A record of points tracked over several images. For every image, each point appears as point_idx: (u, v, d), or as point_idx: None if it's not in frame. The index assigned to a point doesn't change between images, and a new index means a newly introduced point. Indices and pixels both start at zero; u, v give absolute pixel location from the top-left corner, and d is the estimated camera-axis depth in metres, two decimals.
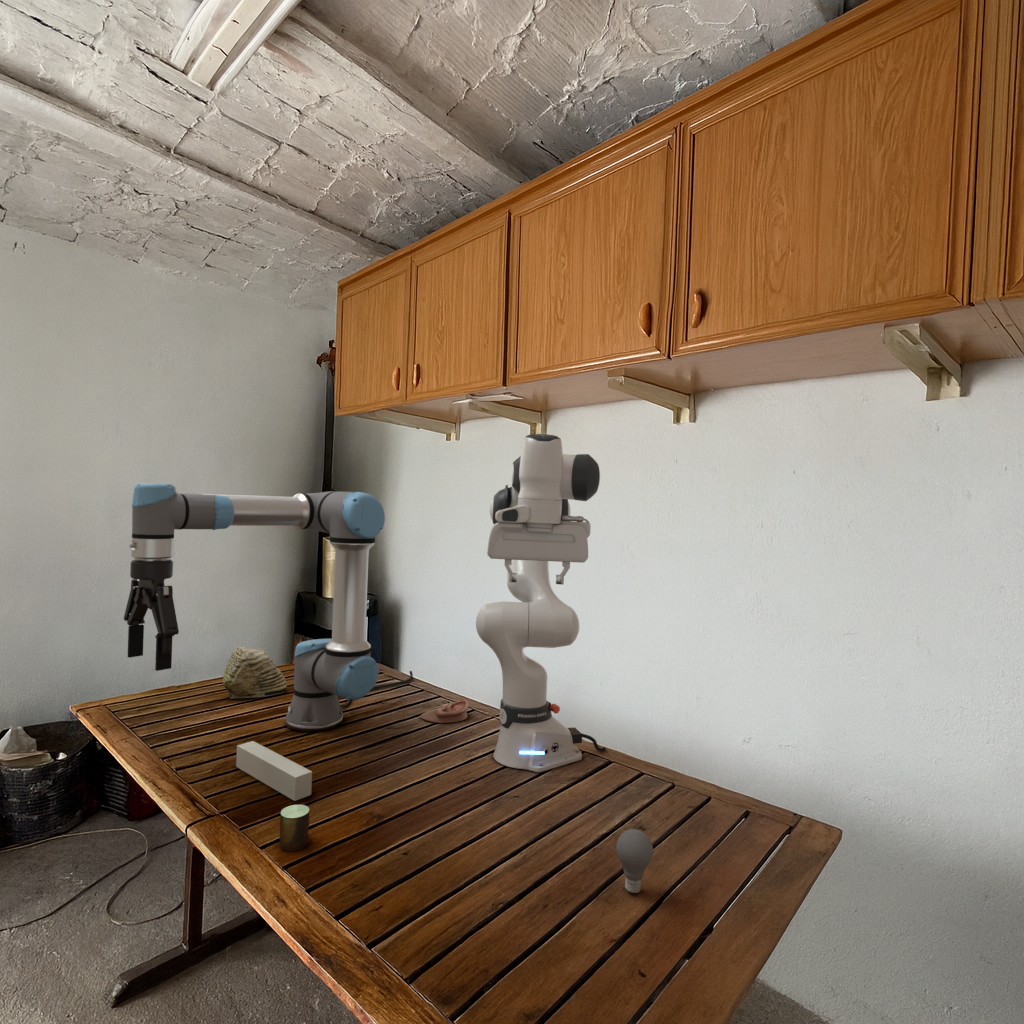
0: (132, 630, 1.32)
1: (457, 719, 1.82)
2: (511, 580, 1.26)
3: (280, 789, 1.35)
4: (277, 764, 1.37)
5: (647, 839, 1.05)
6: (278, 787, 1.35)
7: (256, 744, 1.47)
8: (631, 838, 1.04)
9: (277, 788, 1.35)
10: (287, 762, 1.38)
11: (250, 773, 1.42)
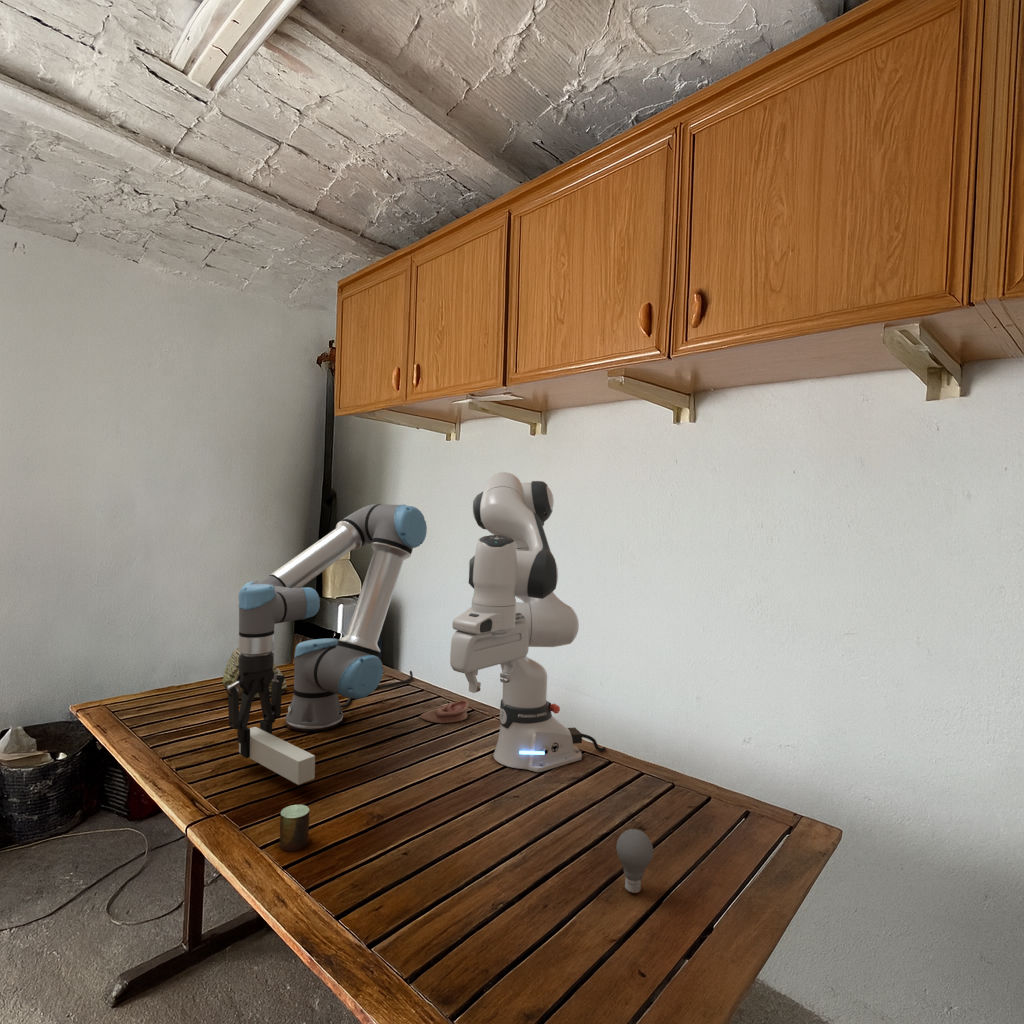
0: (261, 725, 1.48)
1: (457, 719, 1.82)
2: (476, 690, 1.22)
3: (283, 773, 1.35)
4: (280, 749, 1.37)
5: (647, 839, 1.05)
6: (281, 772, 1.36)
7: (258, 730, 1.48)
8: (631, 838, 1.04)
9: (281, 773, 1.36)
10: (290, 747, 1.39)
11: (253, 758, 1.43)
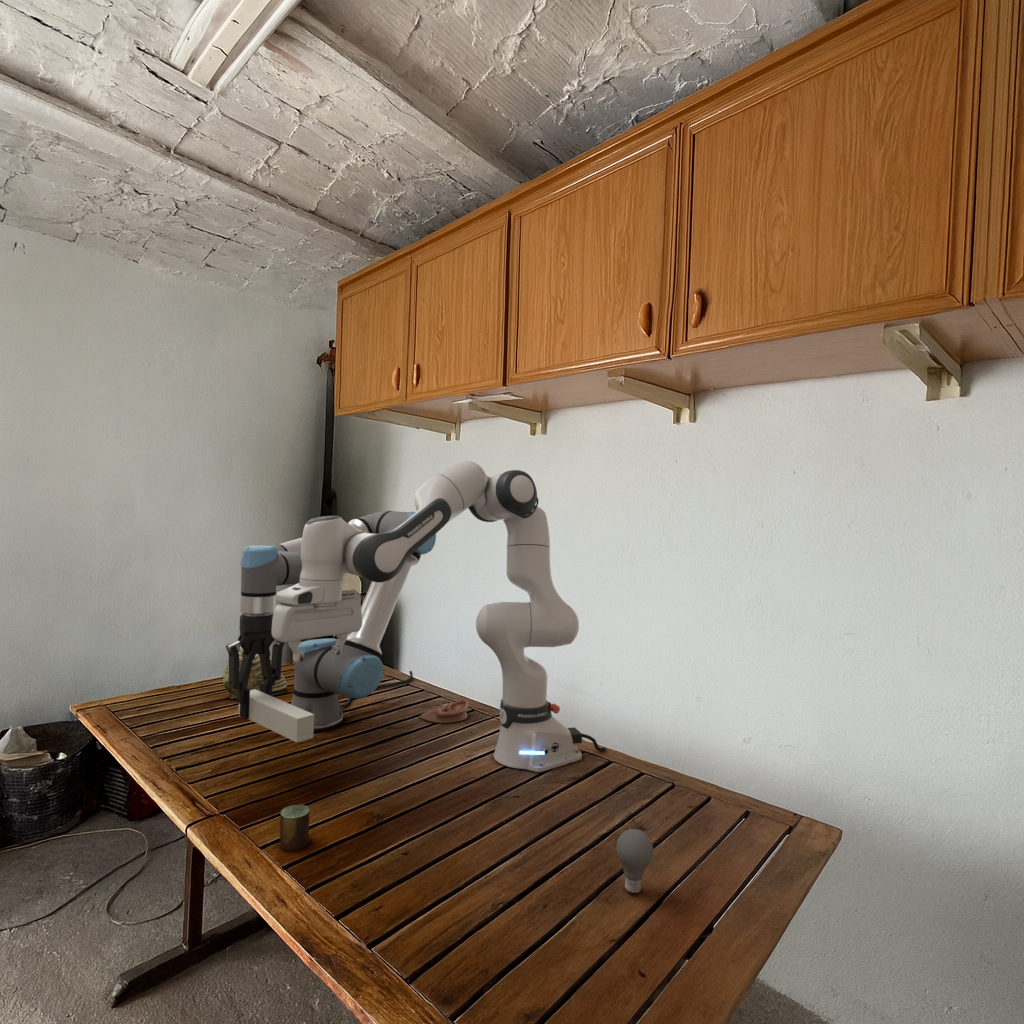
0: (261, 687, 1.47)
1: (457, 719, 1.82)
2: (299, 659, 1.30)
3: (282, 732, 1.34)
4: (279, 708, 1.37)
5: (647, 839, 1.05)
6: (280, 730, 1.35)
7: (258, 692, 1.47)
8: (631, 838, 1.04)
9: (279, 732, 1.35)
10: (289, 707, 1.38)
11: (252, 719, 1.42)
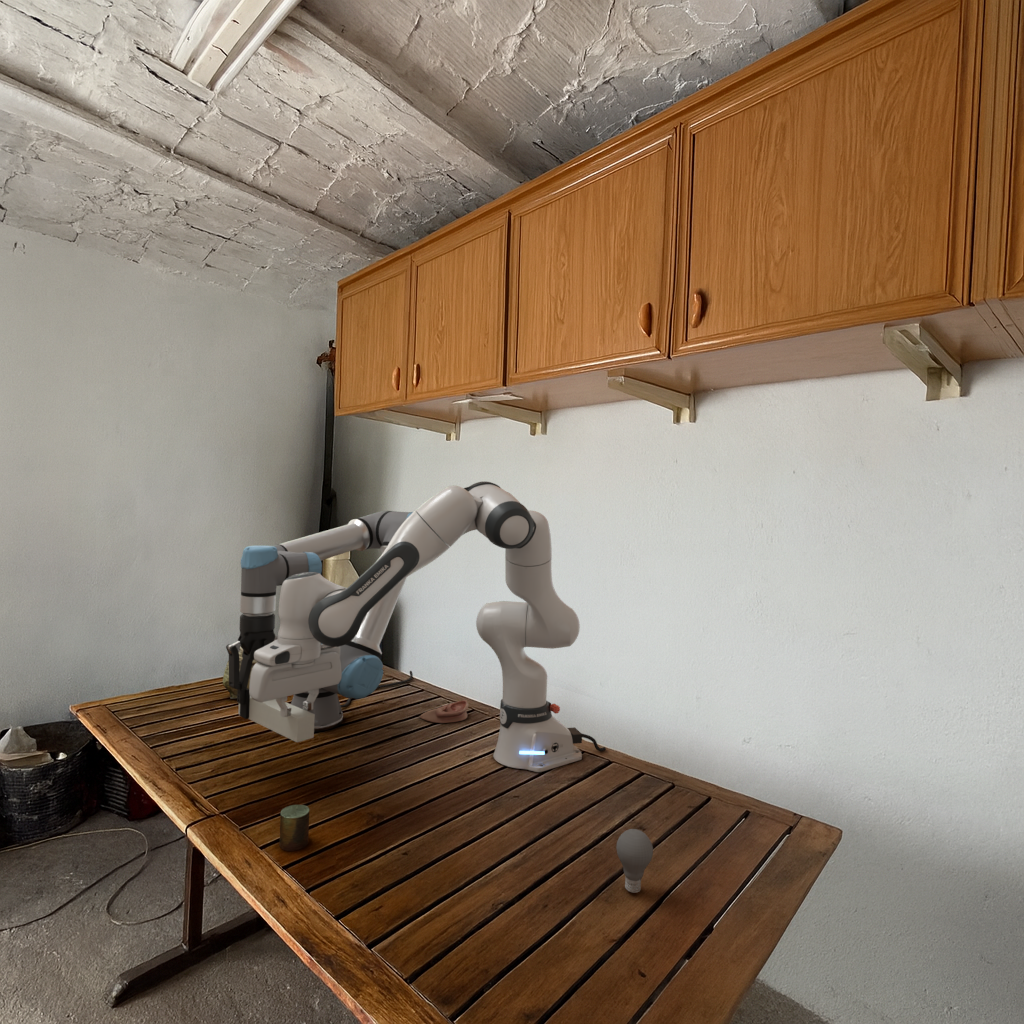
0: None
1: (457, 719, 1.82)
2: (286, 715, 1.32)
3: (282, 732, 1.34)
4: (279, 708, 1.37)
5: (647, 839, 1.05)
6: (280, 730, 1.35)
7: None
8: (631, 838, 1.04)
9: (280, 732, 1.35)
10: (290, 706, 1.38)
11: (252, 719, 1.42)
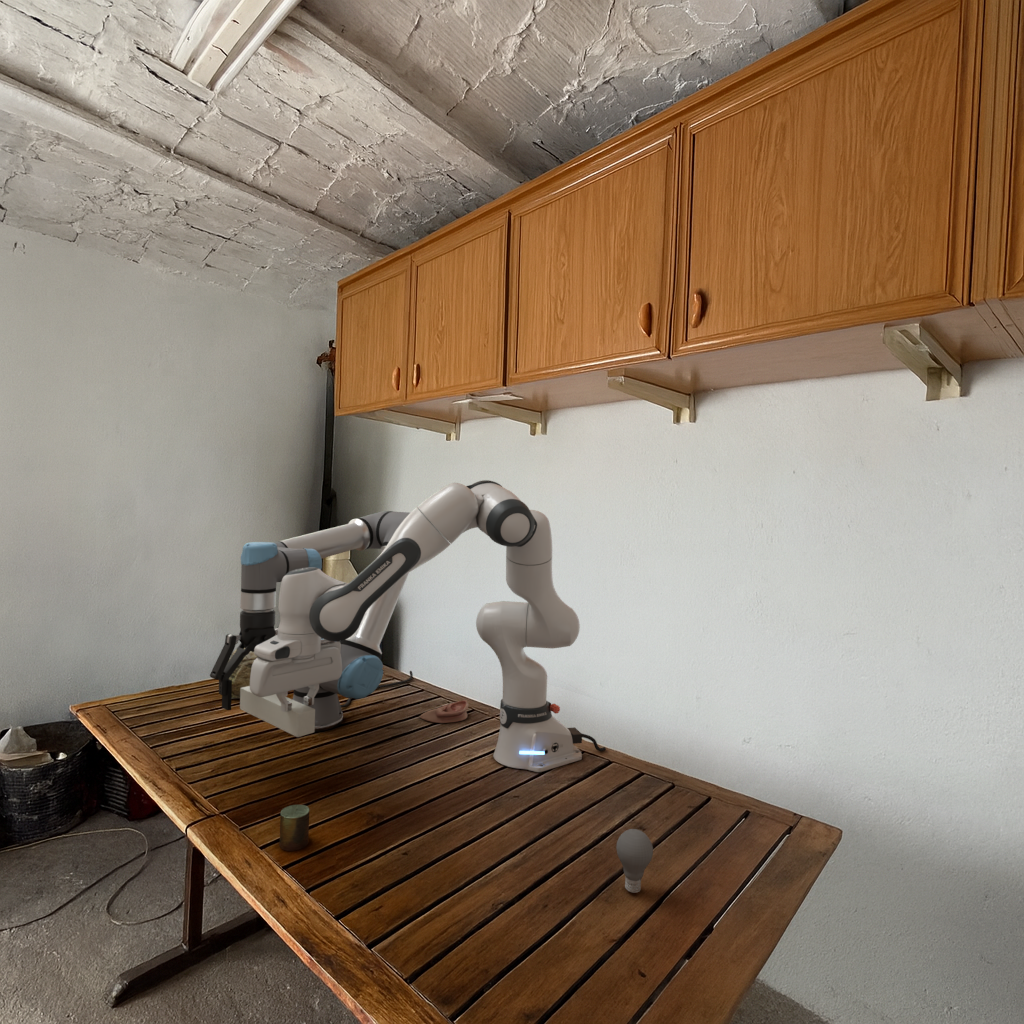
0: None
1: (457, 719, 1.82)
2: (287, 710, 1.32)
3: (283, 727, 1.35)
4: (280, 703, 1.37)
5: (647, 839, 1.05)
6: (281, 725, 1.35)
7: None
8: (631, 838, 1.04)
9: (281, 726, 1.36)
10: (290, 701, 1.38)
11: (254, 714, 1.43)
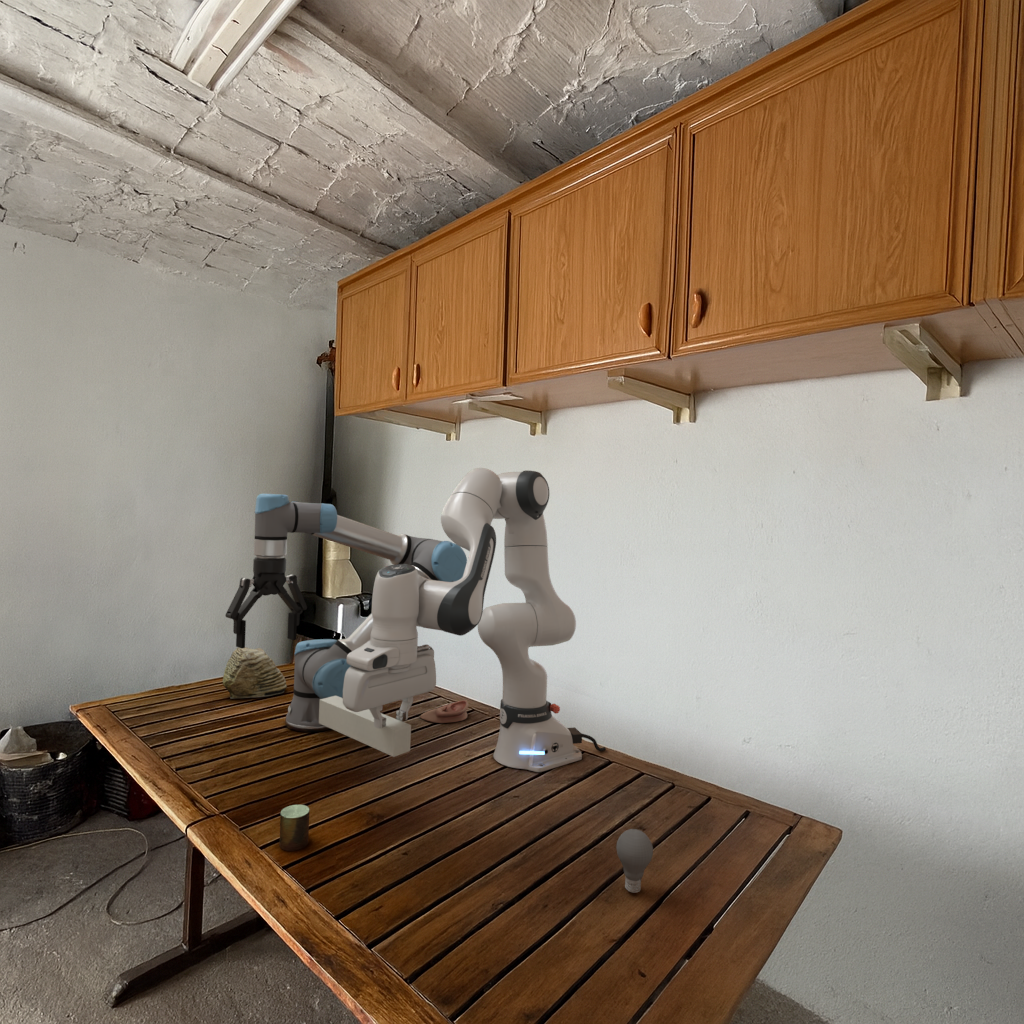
0: (289, 616, 1.61)
1: (457, 719, 1.82)
2: (381, 726, 1.17)
3: (375, 745, 1.20)
4: (370, 718, 1.22)
5: (647, 839, 1.05)
6: (372, 743, 1.20)
7: (340, 698, 1.33)
8: (631, 838, 1.04)
9: (371, 744, 1.21)
10: None
11: (336, 729, 1.28)
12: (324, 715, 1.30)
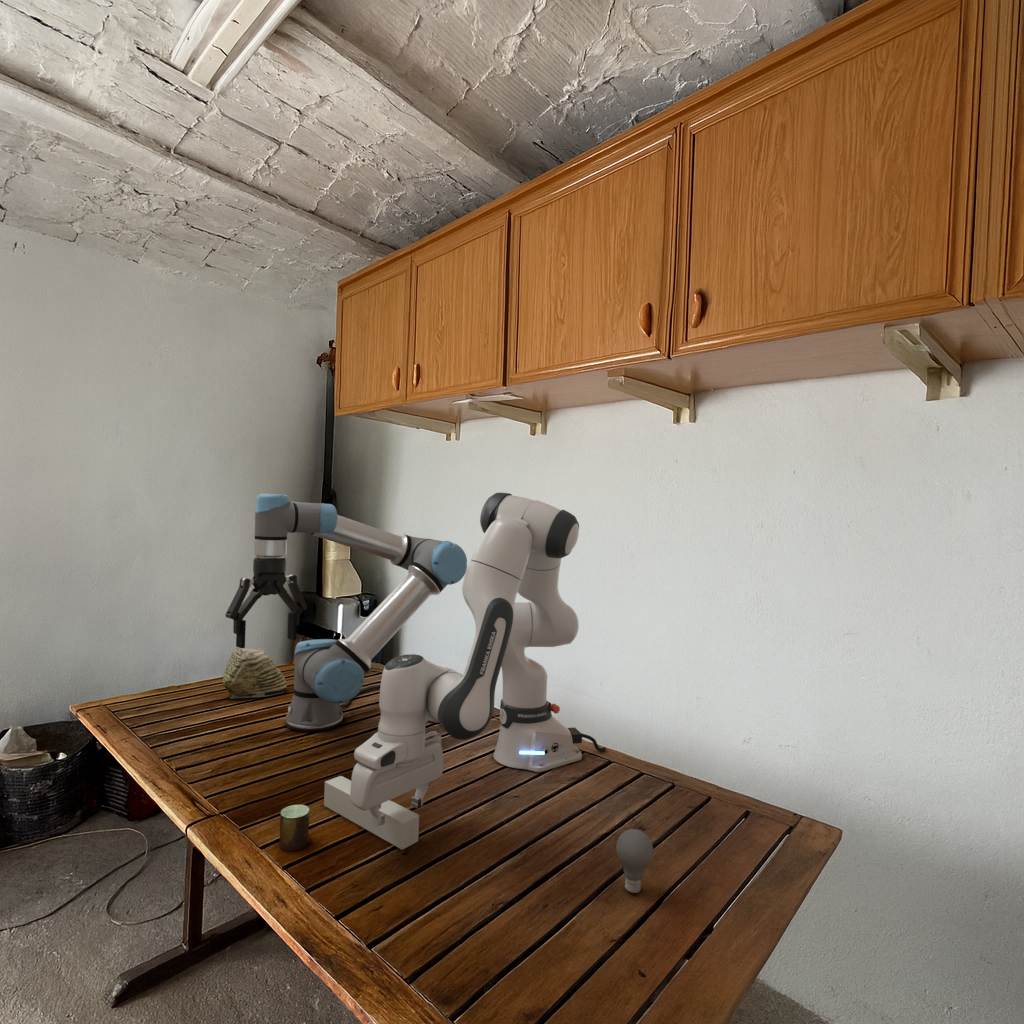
0: (289, 616, 1.61)
1: None
2: (380, 824, 1.15)
3: (383, 835, 1.18)
4: None
5: (647, 839, 1.05)
6: (380, 833, 1.19)
7: (346, 780, 1.31)
8: (631, 838, 1.04)
9: (379, 834, 1.19)
10: (388, 803, 1.22)
11: (342, 814, 1.26)
12: (329, 798, 1.29)
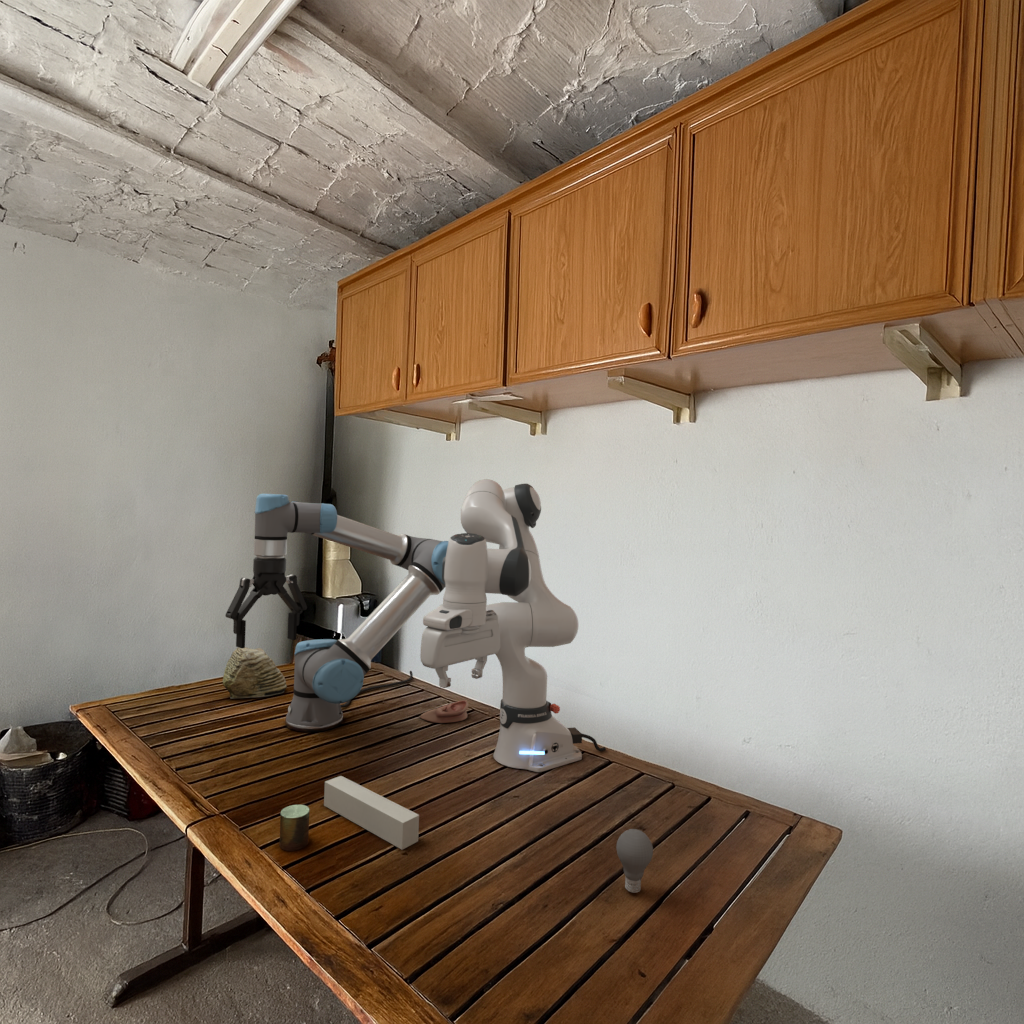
0: (289, 616, 1.61)
1: (457, 719, 1.82)
2: (447, 686, 1.24)
3: (383, 835, 1.18)
4: (377, 806, 1.21)
5: (647, 839, 1.05)
6: (380, 833, 1.19)
7: (346, 780, 1.31)
8: (631, 838, 1.04)
9: (379, 834, 1.19)
10: (388, 803, 1.22)
11: (342, 814, 1.26)
12: (329, 798, 1.29)
